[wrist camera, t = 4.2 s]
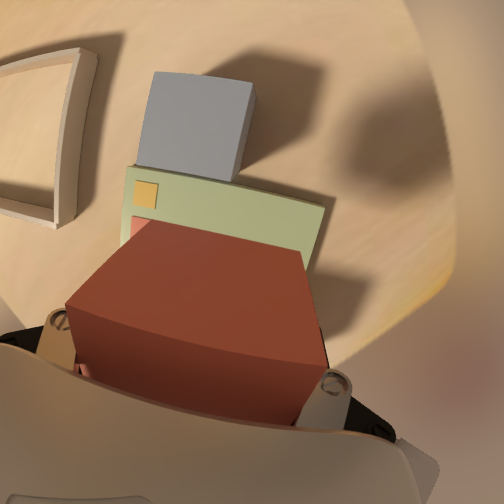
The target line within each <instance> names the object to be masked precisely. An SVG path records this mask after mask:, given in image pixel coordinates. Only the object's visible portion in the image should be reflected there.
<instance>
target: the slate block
mask: <svg viewBox="0 0 504 504" xmlns="http://www.w3.org/2000/svg"><path fill="white" fill-rule="evenodd" d="M255 102H256V95H255V90H254V85H253V83H251V82H245V81H240V80H234V79H227V78H220V77H213V76H205V75H196V74H185V73H172V72H155V73H154V77H153V81H152V85H151V89H150V93H149V97H148V102H147V106H146V111H145V116H144V121H143V126H142V132H141V137H140V143H139V149H138V156H137V163H136V165H140V166H147V167H153V168H159V169H165V170H171V171H177V172H182V173H188V174H193V175H198V176H203V177H209V178H214V179H219V180H223V181H228V182H231V181H232V179H233V178H234V177H235V176H236V175H237V174H238V173H239V172H240V167H241V163H242V158H243V154H244V149H245V145H246V141H247V136H248V132H249V128H250V123H251V119H252V115H253V111H254V107H255Z"/></svg>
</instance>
